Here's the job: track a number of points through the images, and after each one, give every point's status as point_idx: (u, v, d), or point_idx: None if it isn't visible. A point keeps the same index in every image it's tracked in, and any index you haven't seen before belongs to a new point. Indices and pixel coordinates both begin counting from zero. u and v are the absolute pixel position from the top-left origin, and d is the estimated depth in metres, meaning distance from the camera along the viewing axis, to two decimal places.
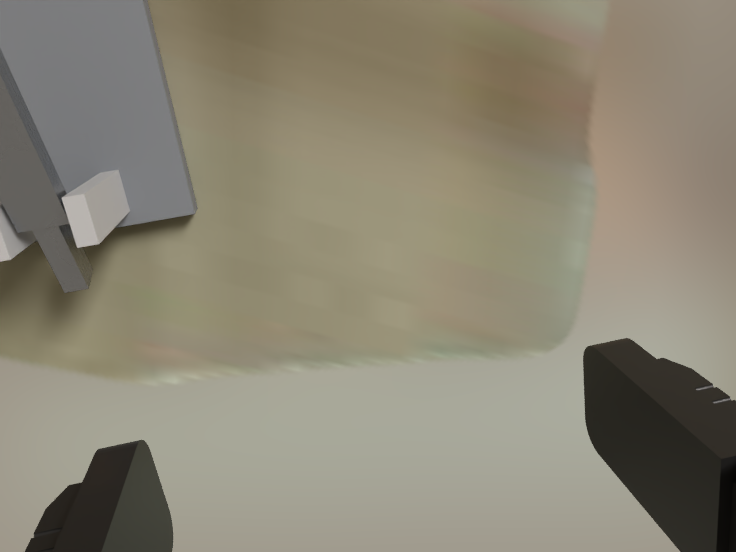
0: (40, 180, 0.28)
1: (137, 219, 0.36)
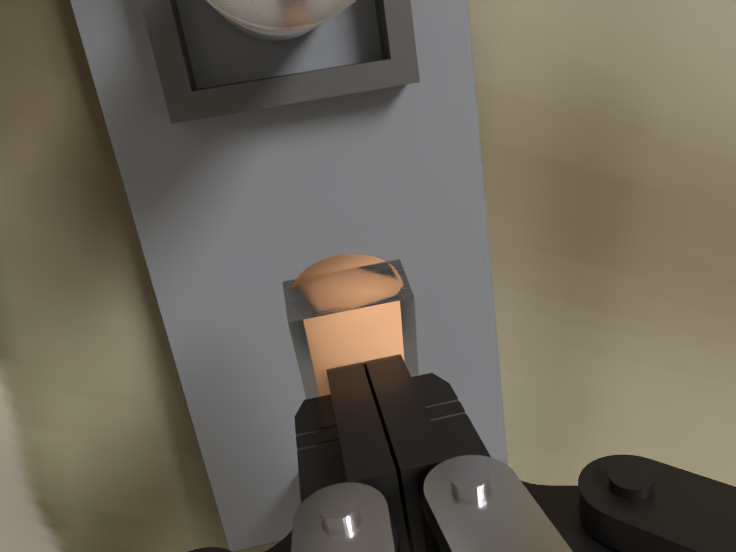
0: None
1: None
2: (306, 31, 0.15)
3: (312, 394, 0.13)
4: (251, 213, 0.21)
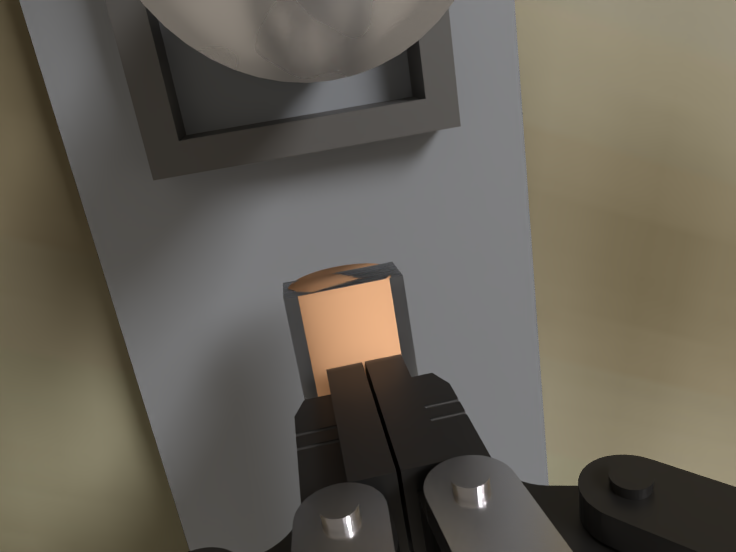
0: None
1: None
2: None
3: (310, 394, 0.13)
4: (252, 282, 0.18)
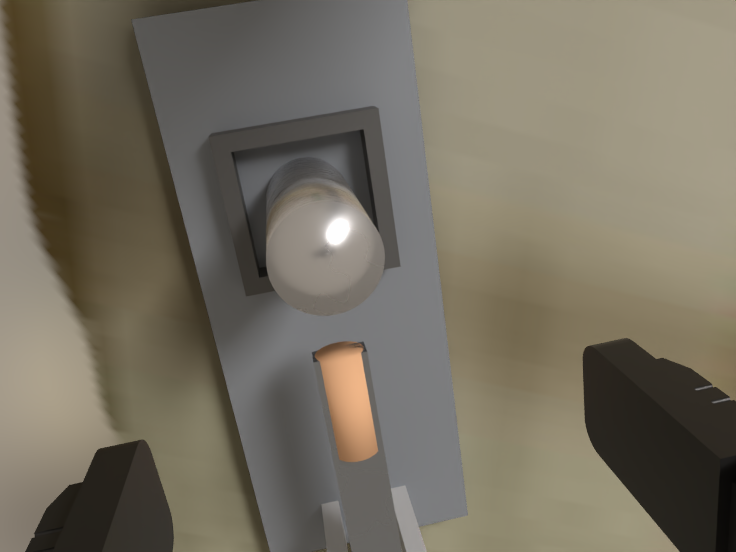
0: (393, 549, 0.31)
1: None
2: None
3: (325, 404, 0.28)
4: (292, 340, 0.33)
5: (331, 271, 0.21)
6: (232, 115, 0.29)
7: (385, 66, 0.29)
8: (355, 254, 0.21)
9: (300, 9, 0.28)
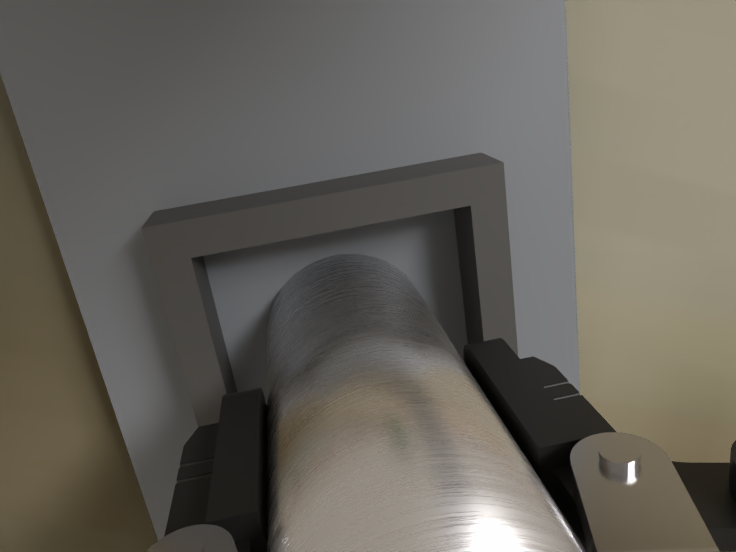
0: None
1: None
2: None
3: None
4: None
5: None
6: (196, 174, 0.14)
7: (509, 73, 0.14)
8: None
9: None
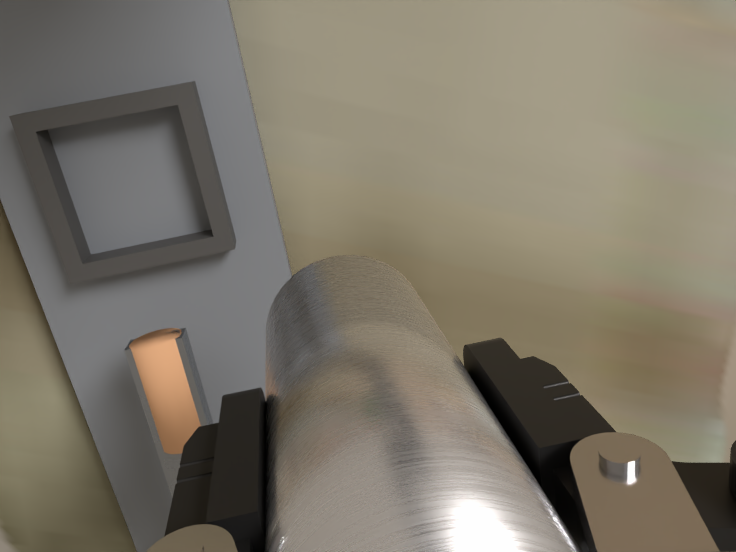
0: None
1: None
2: None
3: (142, 394, 0.27)
4: (135, 330, 0.31)
5: None
6: (42, 93, 0.27)
7: (203, 39, 0.28)
8: None
9: None
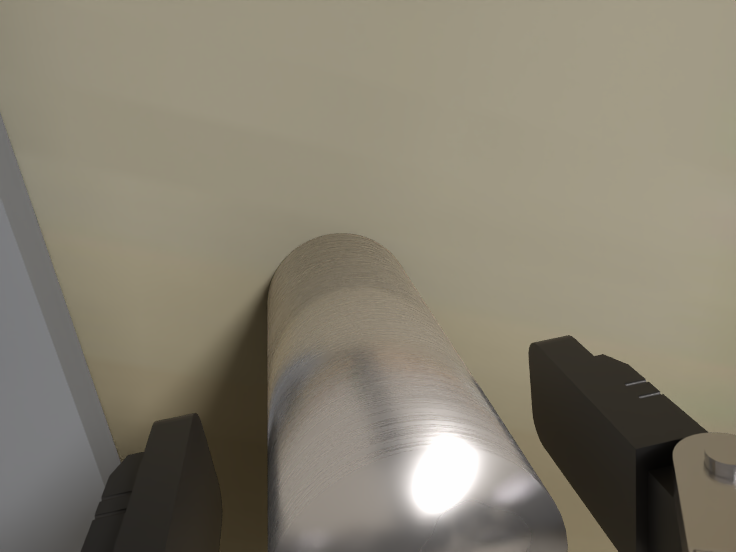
0: None
1: None
2: None
3: None
4: None
5: None
6: None
7: None
8: None
9: None
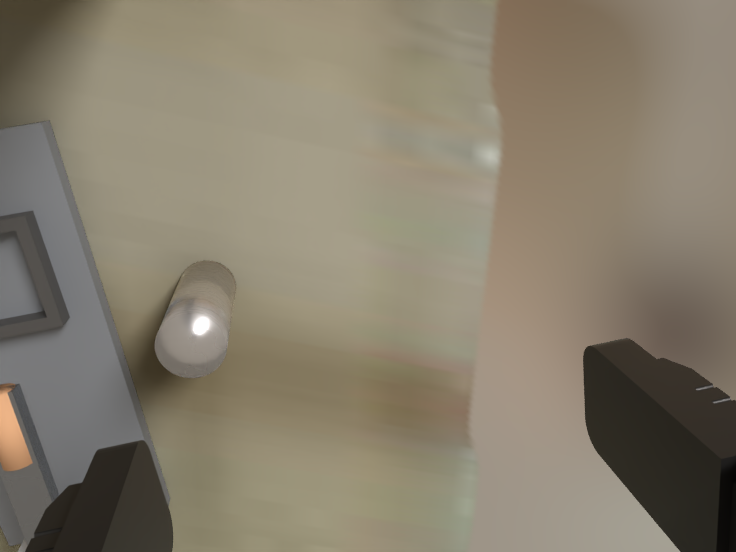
0: None
1: None
2: None
3: None
4: None
5: (194, 352, 0.36)
6: None
7: (37, 183, 0.40)
8: (208, 342, 0.36)
9: None
